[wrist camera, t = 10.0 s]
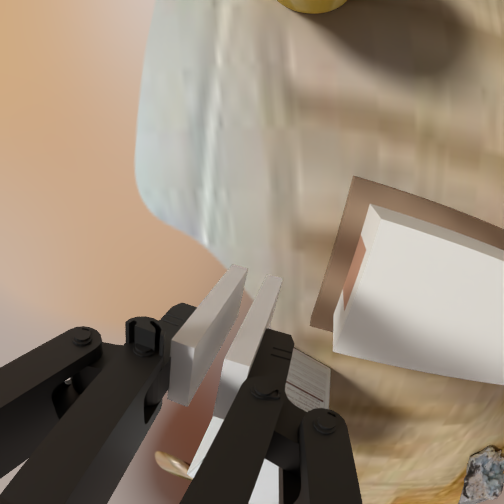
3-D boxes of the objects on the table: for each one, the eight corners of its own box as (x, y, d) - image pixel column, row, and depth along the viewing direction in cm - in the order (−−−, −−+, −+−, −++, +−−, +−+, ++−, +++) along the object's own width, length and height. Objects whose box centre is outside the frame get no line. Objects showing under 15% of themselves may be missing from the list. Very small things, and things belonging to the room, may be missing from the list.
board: (353, 175, 22) (359, 181, 18) (568, 260, 19) (593, 277, 15) (311, 316, 26) (306, 347, 22) (517, 364, 23) (533, 390, 19)
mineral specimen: (486, 435, 32) (432, 465, 32) (514, 432, 25) (455, 470, 25) (496, 484, 27) (443, 515, 27) (524, 488, 20) (466, 527, 20)
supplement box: (290, 410, 30) (266, 512, 19) (229, 376, 31) (181, 475, 19) (334, 367, 28) (326, 482, 16) (266, 328, 28) (223, 437, 16)
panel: (369, 203, 21) (381, 218, 17) (532, 262, 19) (563, 286, 14) (333, 314, 24) (332, 351, 20) (489, 352, 22) (509, 385, 17)
